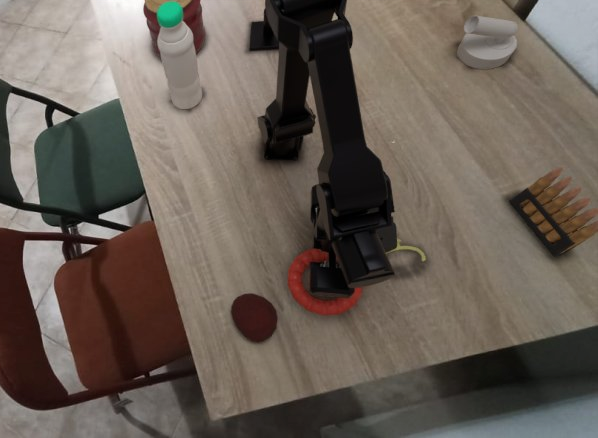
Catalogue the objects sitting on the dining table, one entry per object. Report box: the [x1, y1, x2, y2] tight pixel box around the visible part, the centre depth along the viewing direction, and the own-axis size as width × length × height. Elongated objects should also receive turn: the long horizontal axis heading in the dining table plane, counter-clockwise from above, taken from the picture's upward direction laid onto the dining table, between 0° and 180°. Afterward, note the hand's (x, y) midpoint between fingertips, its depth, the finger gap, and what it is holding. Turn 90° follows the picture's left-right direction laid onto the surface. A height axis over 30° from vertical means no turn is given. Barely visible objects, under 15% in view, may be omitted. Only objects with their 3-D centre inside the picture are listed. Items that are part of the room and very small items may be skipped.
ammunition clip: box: [508, 166, 598, 257], centre depth 66 cm, size 11×2×12 cm, turn 16°
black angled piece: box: [249, 8, 280, 52], centre depth 99 cm, size 8×8×8 cm
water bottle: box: [157, 1, 203, 110], centre depth 90 cm, size 7×7×25 cm
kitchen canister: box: [142, 0, 206, 59], centre depth 101 cm, size 13×13×18 cm
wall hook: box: [456, 15, 519, 70], centre depth 82 cm, size 9×10×10 cm
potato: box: [230, 292, 279, 343], centre depth 75 cm, size 7×8×6 cm
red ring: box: [287, 248, 363, 316], centre depth 76 cm, size 12×12×2 cm
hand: (324, 255), depth 78 cm, fingers open, 6 cm apart
